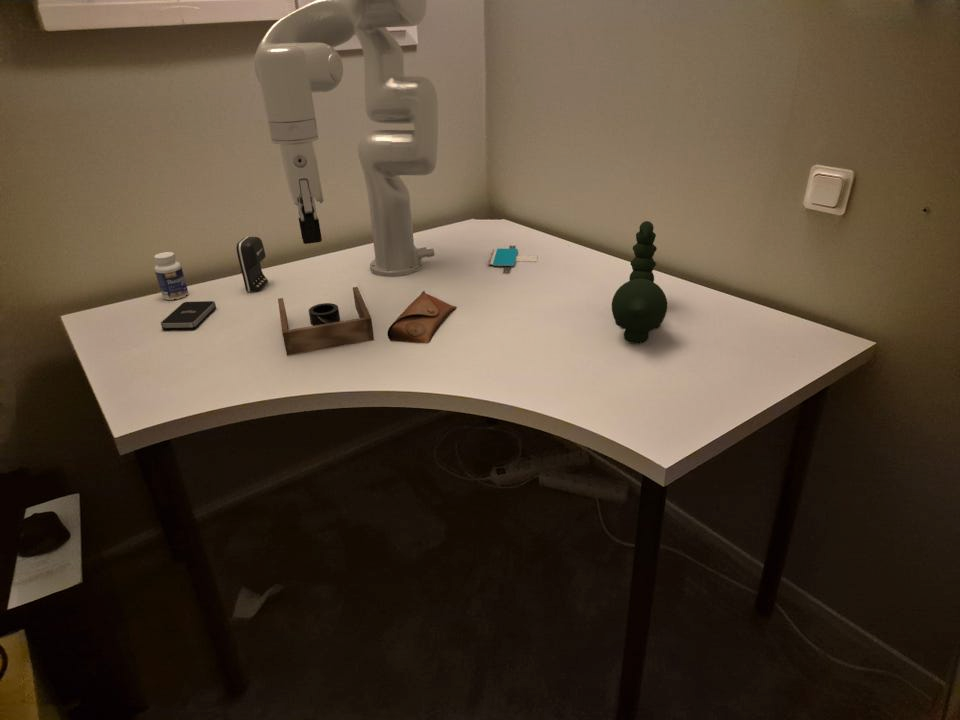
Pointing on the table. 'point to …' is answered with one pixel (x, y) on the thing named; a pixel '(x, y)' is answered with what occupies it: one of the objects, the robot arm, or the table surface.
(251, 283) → the battery charger
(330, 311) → the black lugged cup
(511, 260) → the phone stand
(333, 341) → the cubby
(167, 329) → the external hard drive
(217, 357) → the table surface
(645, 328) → the dark green bulbous piece
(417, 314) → the sunglasses case
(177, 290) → the pill bottle
